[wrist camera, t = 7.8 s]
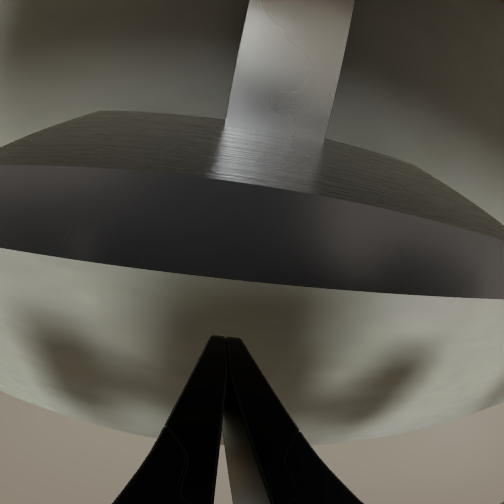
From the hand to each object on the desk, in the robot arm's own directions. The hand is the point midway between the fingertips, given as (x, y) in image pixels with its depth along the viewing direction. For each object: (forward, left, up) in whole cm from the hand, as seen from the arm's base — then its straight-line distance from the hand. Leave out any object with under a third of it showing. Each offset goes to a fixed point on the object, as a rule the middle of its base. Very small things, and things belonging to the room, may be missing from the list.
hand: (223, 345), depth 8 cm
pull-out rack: (0, -13, -2) cm, 13 cm away
